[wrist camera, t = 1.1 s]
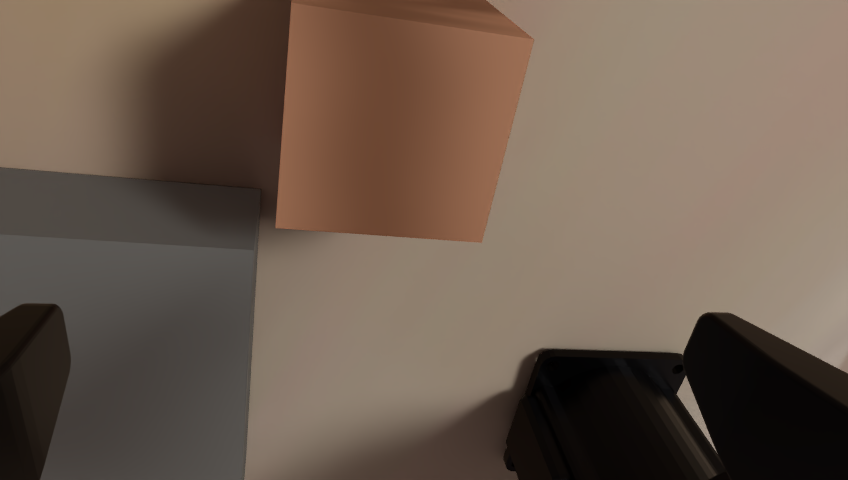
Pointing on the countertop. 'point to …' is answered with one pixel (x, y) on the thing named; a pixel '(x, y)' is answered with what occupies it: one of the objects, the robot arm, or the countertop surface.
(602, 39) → the countertop surface
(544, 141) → the countertop surface
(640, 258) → the countertop surface
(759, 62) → the countertop surface
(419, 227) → the cube
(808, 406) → the robot arm
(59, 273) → the plinth
